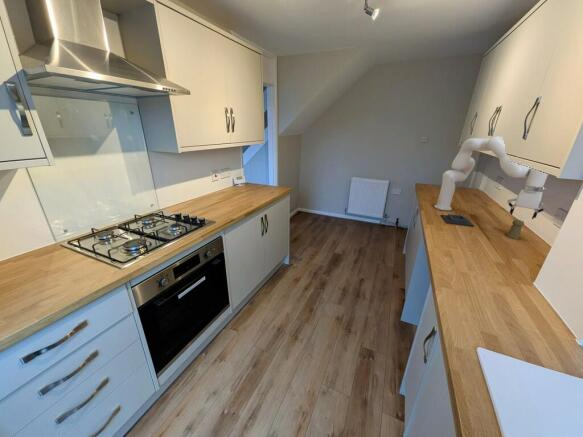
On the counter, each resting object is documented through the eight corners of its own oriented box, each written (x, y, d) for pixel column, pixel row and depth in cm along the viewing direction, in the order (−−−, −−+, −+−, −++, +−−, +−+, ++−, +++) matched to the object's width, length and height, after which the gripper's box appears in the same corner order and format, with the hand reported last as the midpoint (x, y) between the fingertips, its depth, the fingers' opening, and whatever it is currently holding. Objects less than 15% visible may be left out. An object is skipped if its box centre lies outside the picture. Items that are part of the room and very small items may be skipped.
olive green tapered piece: (521, 239, 145) (528, 222, 141) (510, 238, 146) (517, 221, 142) (515, 235, 151) (521, 219, 146) (504, 234, 152) (510, 218, 147)
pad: (441, 215, 181) (442, 212, 180) (465, 218, 176) (466, 214, 175) (446, 223, 166) (448, 219, 165) (473, 226, 162) (474, 222, 161)
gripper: (554, 190, 133) (542, 218, 139) (513, 185, 145) (504, 211, 151) (553, 192, 128) (541, 222, 135) (512, 186, 140) (502, 214, 146)
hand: (521, 216), depth 143 cm, fingers open, 9 cm apart
